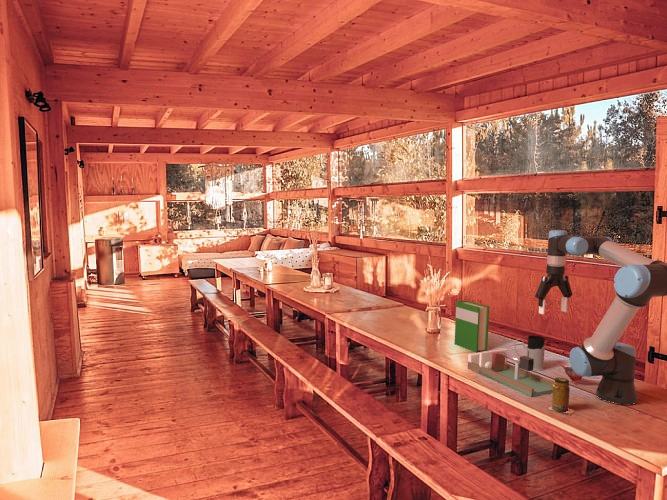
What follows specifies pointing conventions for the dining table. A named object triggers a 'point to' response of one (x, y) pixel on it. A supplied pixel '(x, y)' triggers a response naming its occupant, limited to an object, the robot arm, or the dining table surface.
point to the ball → (488, 365)
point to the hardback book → (471, 325)
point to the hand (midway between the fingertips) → (552, 312)
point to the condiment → (560, 395)
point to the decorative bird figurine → (571, 373)
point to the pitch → (510, 375)
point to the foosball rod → (499, 359)
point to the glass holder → (535, 351)
